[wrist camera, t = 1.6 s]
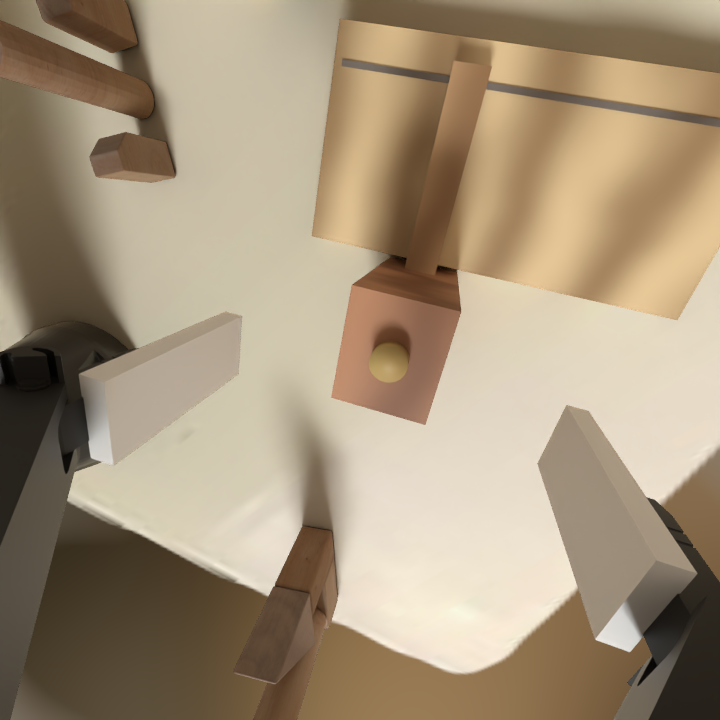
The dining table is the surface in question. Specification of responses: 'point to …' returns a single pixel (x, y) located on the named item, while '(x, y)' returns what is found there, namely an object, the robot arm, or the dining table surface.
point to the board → (530, 164)
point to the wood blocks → (90, 80)
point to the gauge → (413, 282)
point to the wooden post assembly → (292, 626)
